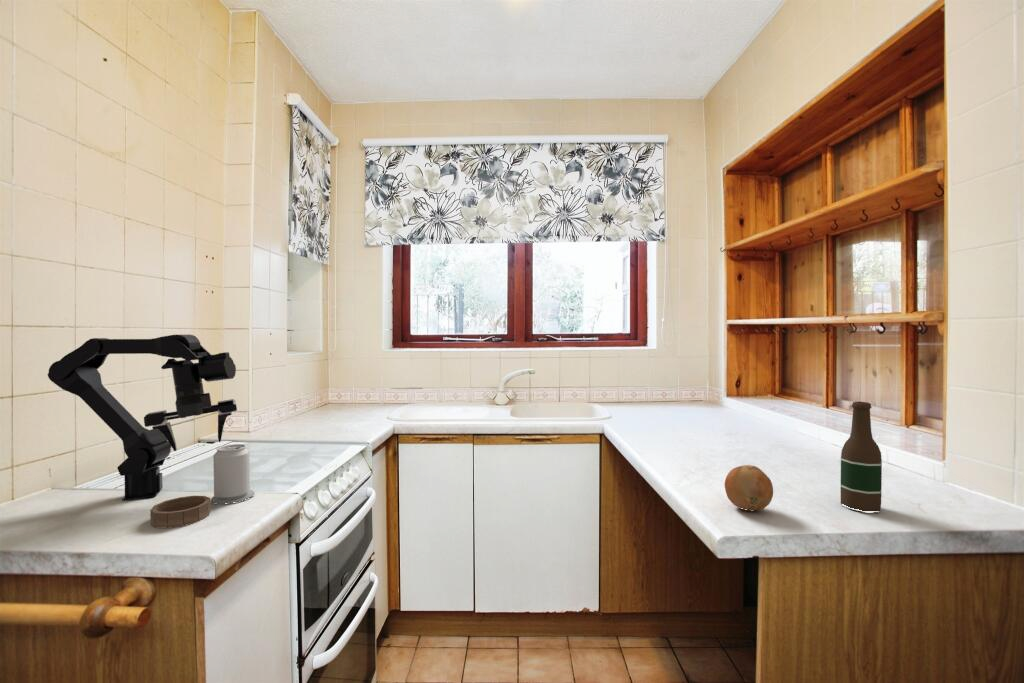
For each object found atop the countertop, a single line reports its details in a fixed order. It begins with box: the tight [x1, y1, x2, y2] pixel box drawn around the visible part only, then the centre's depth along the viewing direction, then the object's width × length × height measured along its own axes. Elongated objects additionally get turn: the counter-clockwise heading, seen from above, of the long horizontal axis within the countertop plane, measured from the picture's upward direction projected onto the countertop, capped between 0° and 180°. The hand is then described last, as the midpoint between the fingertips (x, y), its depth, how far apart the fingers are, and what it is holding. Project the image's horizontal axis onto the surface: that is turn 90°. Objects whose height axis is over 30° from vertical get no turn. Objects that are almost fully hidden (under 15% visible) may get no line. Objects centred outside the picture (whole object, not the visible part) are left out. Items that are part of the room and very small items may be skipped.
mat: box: [210, 489, 255, 505], centre depth 112 cm, size 9×9×1 cm
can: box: [212, 443, 251, 500], centre depth 111 cm, size 8×8×12 cm
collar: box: [150, 495, 212, 529], centre depth 99 cm, size 10×10×3 cm
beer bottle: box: [840, 401, 883, 512], centre depth 104 cm, size 8×8×24 cm
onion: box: [724, 464, 774, 511], centre depth 104 cm, size 10×10×10 cm
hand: (198, 446), depth 115 cm, fingers open, 9 cm apart
